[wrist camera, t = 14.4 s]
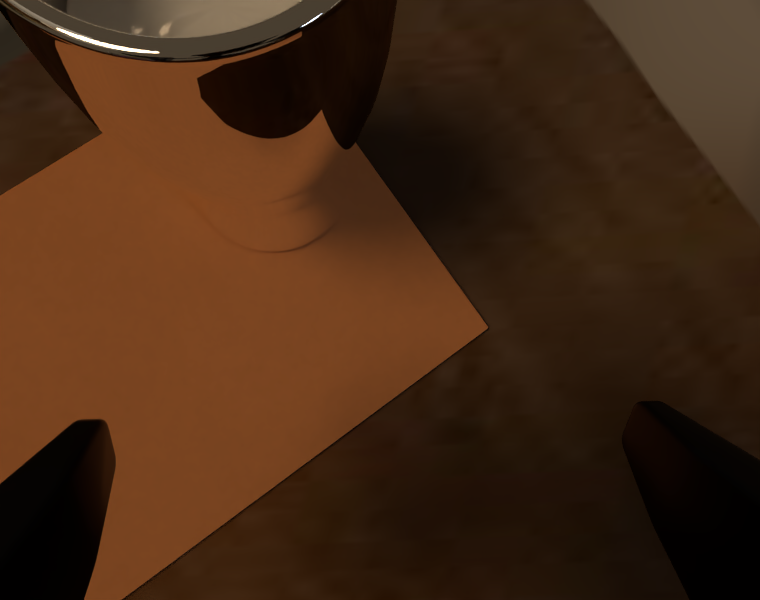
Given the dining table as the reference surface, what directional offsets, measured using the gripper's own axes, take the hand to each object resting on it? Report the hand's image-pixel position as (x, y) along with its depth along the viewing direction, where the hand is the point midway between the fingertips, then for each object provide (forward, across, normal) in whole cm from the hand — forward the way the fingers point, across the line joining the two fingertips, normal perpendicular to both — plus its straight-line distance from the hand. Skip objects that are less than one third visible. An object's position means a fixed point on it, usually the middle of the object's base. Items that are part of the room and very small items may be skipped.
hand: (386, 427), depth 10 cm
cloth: (+12, +6, +6) cm, 15 cm away
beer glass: (+15, +2, +1) cm, 15 cm away
